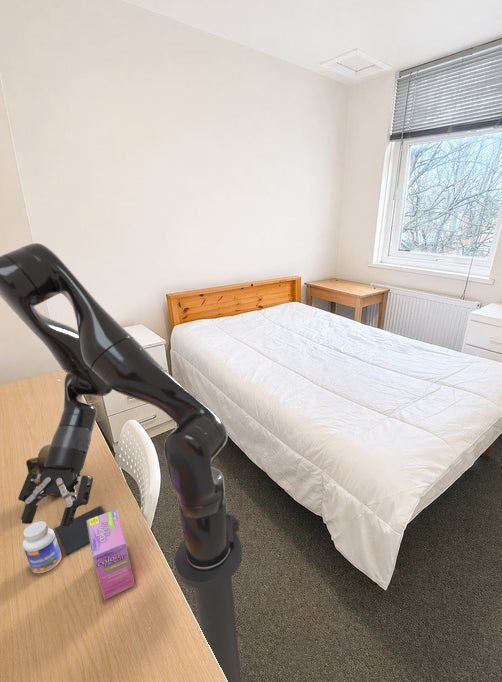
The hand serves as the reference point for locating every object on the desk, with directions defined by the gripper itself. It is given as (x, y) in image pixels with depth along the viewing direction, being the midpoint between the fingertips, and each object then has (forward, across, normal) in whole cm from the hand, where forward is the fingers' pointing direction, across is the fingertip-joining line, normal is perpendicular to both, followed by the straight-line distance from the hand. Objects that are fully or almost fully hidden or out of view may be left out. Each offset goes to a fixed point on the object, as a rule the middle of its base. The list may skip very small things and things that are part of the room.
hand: (45, 525), depth 74 cm
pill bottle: (+8, 0, +4) cm, 9 cm away
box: (+8, +16, +3) cm, 18 cm away
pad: (+1, +2, +10) cm, 11 cm away
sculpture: (-6, -12, +18) cm, 23 cm away
